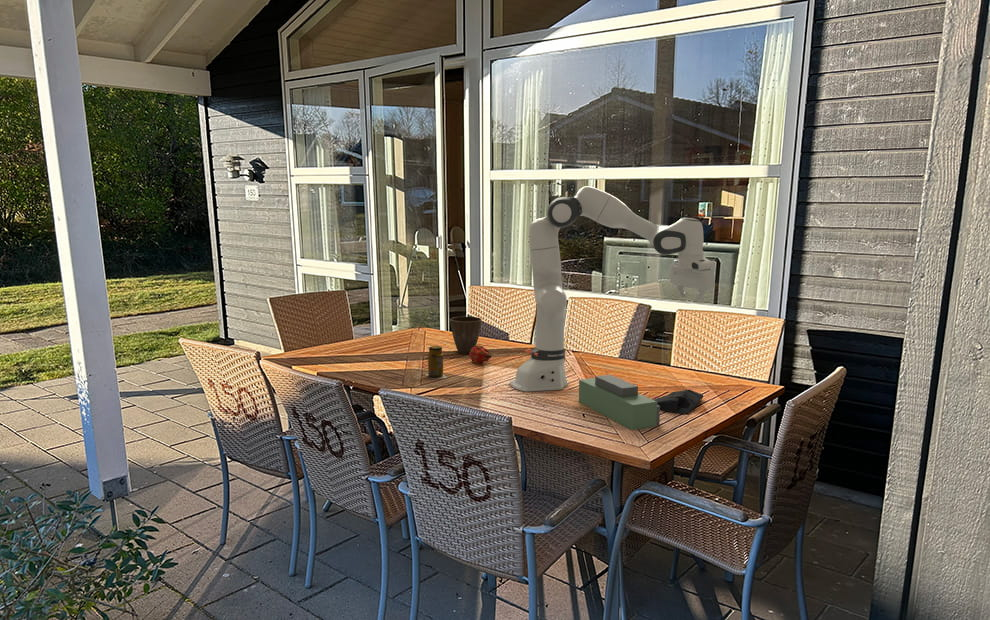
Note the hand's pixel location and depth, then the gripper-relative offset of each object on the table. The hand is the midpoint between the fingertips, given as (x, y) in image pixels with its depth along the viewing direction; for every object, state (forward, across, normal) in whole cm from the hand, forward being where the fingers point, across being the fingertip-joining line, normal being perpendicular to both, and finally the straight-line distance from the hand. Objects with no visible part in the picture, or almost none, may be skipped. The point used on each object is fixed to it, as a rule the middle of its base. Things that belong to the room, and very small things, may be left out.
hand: (691, 299), depth 238 cm
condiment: (+28, -55, -84) cm, 104 cm away
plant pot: (+32, -91, -56) cm, 112 cm away
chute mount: (+30, +15, -44) cm, 56 cm away
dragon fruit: (+31, -69, -58) cm, 96 cm away
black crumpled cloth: (+33, +15, -20) cm, 41 cm away
